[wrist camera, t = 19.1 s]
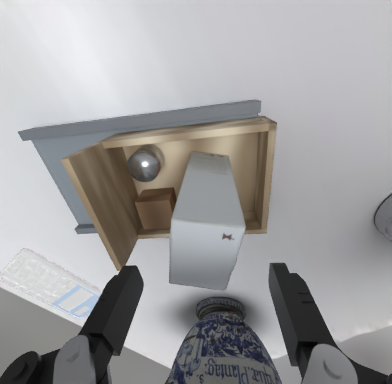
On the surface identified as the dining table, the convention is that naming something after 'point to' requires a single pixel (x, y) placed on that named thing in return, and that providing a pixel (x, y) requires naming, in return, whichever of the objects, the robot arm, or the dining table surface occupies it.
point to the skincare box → (206, 224)
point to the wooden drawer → (170, 175)
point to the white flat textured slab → (50, 283)
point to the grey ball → (145, 163)
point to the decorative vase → (222, 349)
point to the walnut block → (156, 207)
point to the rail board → (100, 129)
